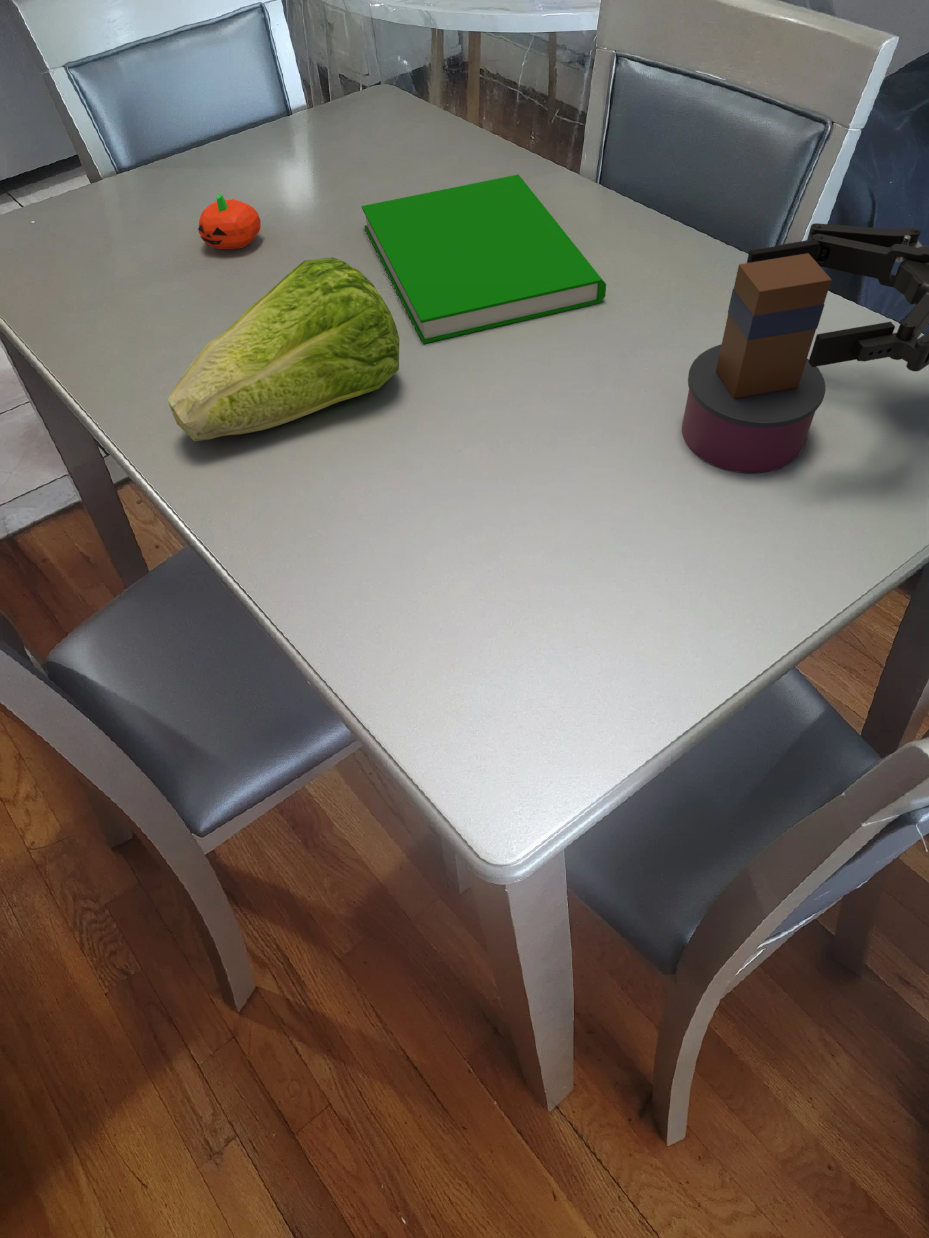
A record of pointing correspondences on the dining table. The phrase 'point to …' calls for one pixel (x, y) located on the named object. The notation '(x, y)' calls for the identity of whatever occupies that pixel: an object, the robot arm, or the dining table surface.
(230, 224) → the pumpkin
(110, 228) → the dining table surface
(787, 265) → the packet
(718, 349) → the lidded tub
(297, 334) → the lettuce
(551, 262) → the book
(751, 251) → the robot arm
